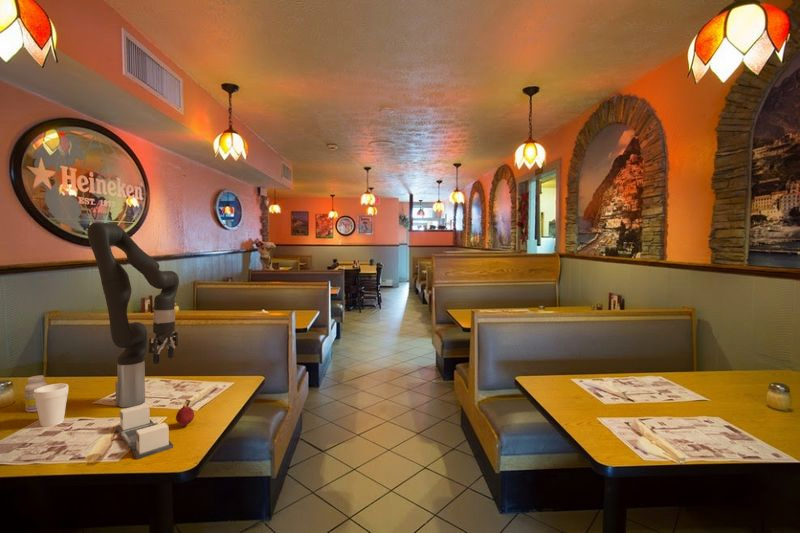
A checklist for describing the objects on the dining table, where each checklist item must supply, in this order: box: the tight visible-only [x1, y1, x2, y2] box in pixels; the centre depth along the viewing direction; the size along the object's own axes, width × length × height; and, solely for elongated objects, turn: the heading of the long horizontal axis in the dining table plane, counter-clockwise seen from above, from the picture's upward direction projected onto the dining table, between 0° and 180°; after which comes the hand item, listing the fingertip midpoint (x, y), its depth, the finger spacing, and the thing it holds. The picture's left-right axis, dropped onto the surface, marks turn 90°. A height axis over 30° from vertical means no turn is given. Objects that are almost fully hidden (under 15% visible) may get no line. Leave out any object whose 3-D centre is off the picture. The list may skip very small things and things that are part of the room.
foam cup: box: [34, 383, 69, 428], centre depth 142 cm, size 10×9×13 cm
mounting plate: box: [115, 419, 174, 460], centre depth 132 cm, size 28×11×2 cm, turn 46°
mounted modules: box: [119, 403, 170, 454], centre depth 132 cm, size 26×8×6 cm, turn 46°
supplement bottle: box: [24, 374, 49, 413], centre depth 153 cm, size 7×7×13 cm
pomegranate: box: [175, 403, 195, 427], centre depth 141 cm, size 6×6×8 cm
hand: (163, 360), depth 157 cm, fingers open, 8 cm apart
